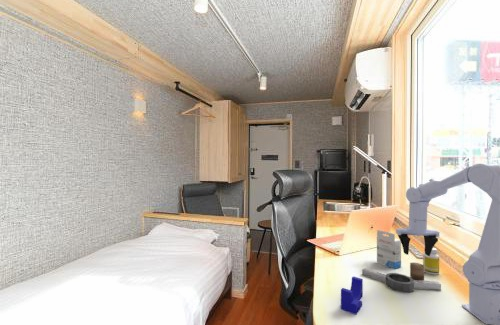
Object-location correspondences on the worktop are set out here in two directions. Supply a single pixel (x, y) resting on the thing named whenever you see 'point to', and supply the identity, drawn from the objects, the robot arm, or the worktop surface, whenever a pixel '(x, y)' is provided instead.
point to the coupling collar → (401, 281)
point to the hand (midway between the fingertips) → (416, 254)
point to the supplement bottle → (431, 262)
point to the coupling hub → (417, 271)
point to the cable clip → (352, 296)
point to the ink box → (388, 250)
